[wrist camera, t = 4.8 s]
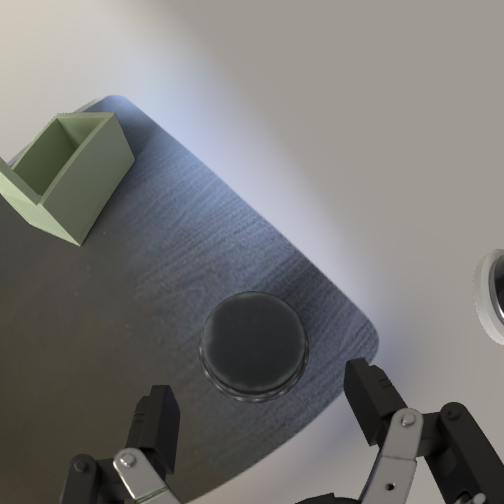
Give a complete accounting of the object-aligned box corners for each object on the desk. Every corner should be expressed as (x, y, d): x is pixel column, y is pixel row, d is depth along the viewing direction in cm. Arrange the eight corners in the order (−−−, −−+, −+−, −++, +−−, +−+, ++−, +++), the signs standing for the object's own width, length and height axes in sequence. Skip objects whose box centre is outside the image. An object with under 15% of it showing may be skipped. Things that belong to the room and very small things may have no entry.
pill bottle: (201, 356, 22) (158, 330, 12) (257, 310, 24) (257, 250, 14) (251, 412, 20) (247, 434, 10) (307, 362, 22) (348, 341, 12)
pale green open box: (79, 152, 34) (57, 113, 27) (135, 160, 32) (115, 112, 25) (29, 223, 29) (-4, 189, 22) (80, 246, 27) (42, 205, 20)
